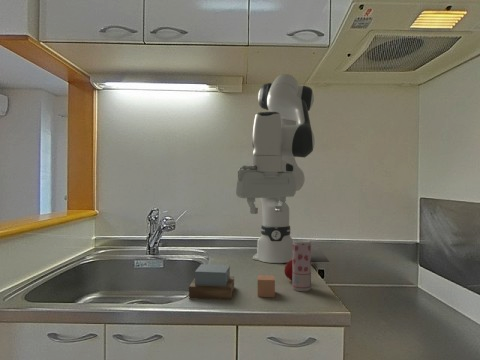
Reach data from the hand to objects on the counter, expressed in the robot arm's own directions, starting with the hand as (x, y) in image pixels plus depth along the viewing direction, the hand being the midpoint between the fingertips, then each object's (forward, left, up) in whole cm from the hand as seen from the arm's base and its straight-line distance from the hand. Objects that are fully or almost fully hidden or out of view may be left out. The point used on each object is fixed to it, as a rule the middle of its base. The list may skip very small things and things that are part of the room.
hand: (266, 212), depth 116 cm
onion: (-14, +9, -24) cm, 30 cm away
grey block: (0, -16, -21) cm, 26 cm away
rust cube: (0, 0, -24) cm, 24 cm away
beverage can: (-6, +11, -24) cm, 27 cm away
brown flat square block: (0, -16, -25) cm, 29 cm away
